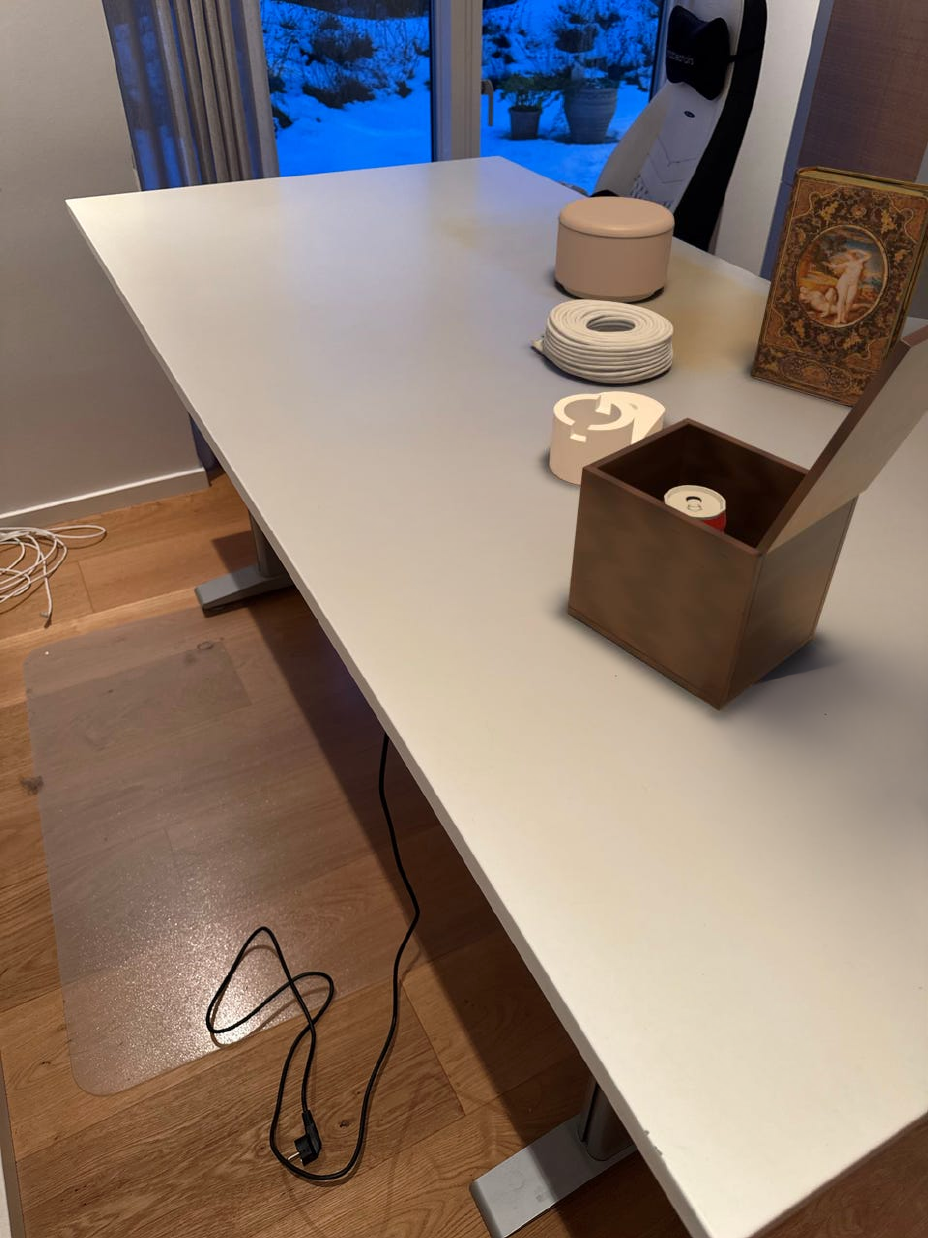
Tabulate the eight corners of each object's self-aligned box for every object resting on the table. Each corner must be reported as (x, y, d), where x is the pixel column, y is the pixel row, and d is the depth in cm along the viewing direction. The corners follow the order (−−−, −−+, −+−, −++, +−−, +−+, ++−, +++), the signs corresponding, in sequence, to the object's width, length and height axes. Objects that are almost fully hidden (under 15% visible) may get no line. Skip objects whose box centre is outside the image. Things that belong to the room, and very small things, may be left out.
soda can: (707, 637, 79) (735, 518, 72) (643, 632, 79) (663, 514, 72) (700, 598, 83) (726, 482, 76) (639, 594, 84) (658, 478, 76)
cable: (524, 343, 131) (526, 300, 127) (635, 329, 135) (640, 288, 131) (573, 394, 118) (577, 349, 114) (694, 378, 122) (702, 333, 119)
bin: (566, 612, 83) (581, 467, 74) (662, 556, 90) (687, 417, 81) (719, 710, 73) (758, 557, 64) (813, 638, 80) (860, 491, 71)
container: (532, 288, 148) (536, 211, 141) (590, 260, 160) (596, 188, 152) (630, 314, 140) (640, 234, 133) (684, 283, 151) (696, 207, 144)
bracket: (610, 493, 99) (617, 437, 95) (536, 473, 102) (540, 418, 98) (669, 419, 113) (678, 367, 109) (602, 403, 116) (608, 352, 112)
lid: (899, 338, 50) (911, 346, 50) (1008, 283, 58) (1019, 291, 57) (755, 548, 64) (764, 556, 64) (858, 483, 71) (866, 489, 71)
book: (745, 375, 123) (788, 172, 108) (763, 362, 127) (807, 164, 111) (866, 411, 115) (932, 198, 100) (882, 397, 118) (948, 188, 103)
